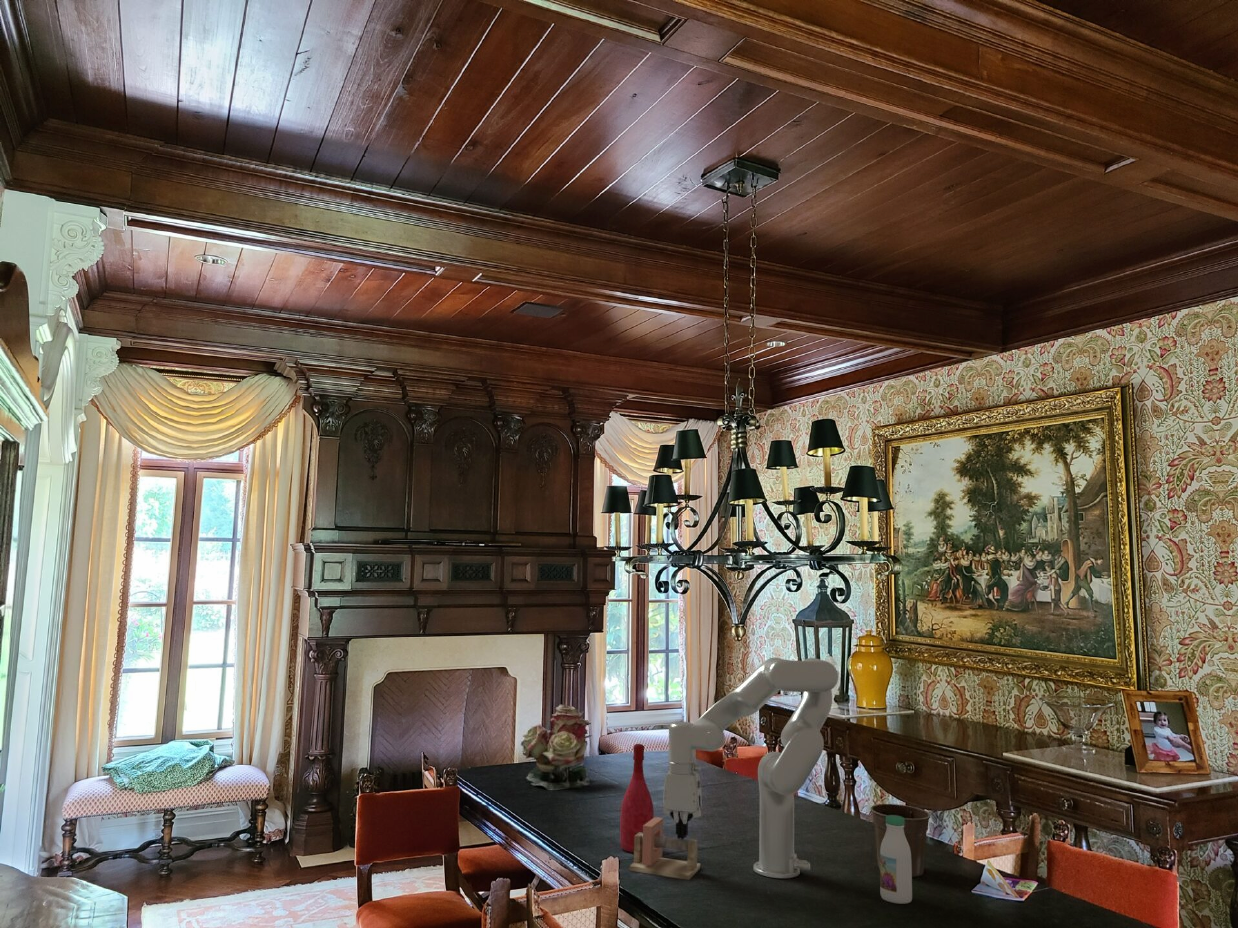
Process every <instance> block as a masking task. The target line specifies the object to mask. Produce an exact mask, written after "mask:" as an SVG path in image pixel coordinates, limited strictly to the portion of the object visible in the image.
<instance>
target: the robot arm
mask: <svg viewBox="0 0 1238 928" xmlns="http://www.w3.org/2000/svg"><path fill="white" fill-rule="evenodd" d="M838 682H839V673H838V670H837V668H836V667H835V665H833V664H832V663H830V662H829V661H827V660H824V659H820V658H815V657H807V658H806V659H804V660H790V659H783V658H781V657H770V658H767V659H766V660H765V661H764V662H762V663H761V664H760V665H759V666H758V667H757V668H756V669H755V670H754V671H753V672H752V673H751V674H750V675H749V676H748V677H747V678H745V679H744V680H743V681H742V682H741V683H740V684H739V685H738V686H737V687H736V688H734V690H732V691H730V692H729V693H728V694H726V695H725V696H723V697H722V698H721V699H719V700H717V702H716V703H714V704H713V705H711V707H709V709H707V711H705V712H704V713H703V714H702V715H701V716H700V717H699V718H698V719H697V720H696V721H695V722H694V723H692V722H690V721H673V722H671V723H670V724H669V727H668V771H667V772H666V774H665V779H664V785H663V795H662V805H663V809H662V812H663V814H665V815H667V816H670V817H671V818H672V820H673V821H674V823H675V834H676V835H677V837H676V838H677V839H684V840H685V839H686V837H687V836H688V835H689V822H690V821H691V820H692V819H694V818H700V817H701V816H702V811H701V809H702V805H703V804H702V803H703V802H702V801H703V800H702V799H703V798H702V786H701V780H700V779H701V778H700V774H699V773H698V771H699V772H700V771H701V767H702V766H701V765H699V764H697V759H696V758H697V753H696V752H697V751H696V750H698V751H704V752H706V751H707V752H716V751H718V750H720V749H721V748H722V747H723V746H724V744H725V740H726V736H725V735H726V734H725V732H724V731H725V730H727V728H728V727H730V726H731V725H732V724H733V723H735V722H736V721H738V720H740V719H743V718H746V717H749V716H752V715H754V714H756V713H757V712H758V711H759V710H760V709H762V707H764V706H765V704H766V703H768V702H769V701H770V700H771V699H772V698H773V697H774V696H775V695H776V694H777V693H779V692H780V691H782V692H793V693H794V692H795V693H802V695H801V699H800V701H799V703H798V705H797V707H796V708H795V710H794V711H793V713H792V715H791V717H789V719H788V721H787V723H786V724H785V726H784V727H783V729H782V730H781V733H780V742H781V745H782V746H783V747H784V748H783V749H782V750H781V752H779V751H771V752H768V753H766V754H764V755H763V756H762V758H760V761H759V763H758V765H757V766H758V767H757V780H758V789H759V790H758V791H759V825H758V826H759V829H758V830H759V834H758V835H759V839H758V840H759V844H758V845H759V849H758V852H759V853H758V855H759V856H758V857H759V858H758V859H759V860H757V861H756V862H754V864H753V871H754V872H755V873H757V874H758V875H761V876H764V877H768V878H772V879H792V878H795V877H798V876H799V875H800V873H801V871H800V870H805V871H810V870H811V863H810V862H808V860H804V859H799V858H797V855H798V854H797V853H795V797H794V795H795V794H796V793H798V792H799V791H800V789H802V788H803V786H804V784H805V783H806V781H807V779H808V778H809V776H811V773H812V772H813V770H814V768H815V766H817V763H818V762H819V759H820V758H821V756H822V753H823V751H824V744H825V743H824V742H825V741H824V737H823V735H822V733H821V730H822V728H823V725H825V722H826V720H827V719H828V716H829V715H830V712H831V709H832V705H833V690H832V689H834V688H835V687H836V686H837V685H838ZM682 813H683V815H682Z"/></svg>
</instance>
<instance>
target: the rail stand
mask: <svg viewBox="0 0 1238 928" xmlns="http://www.w3.org/2000/svg"><path fill="white" fill-rule="evenodd" d="M654 846H655V847H662V849H663V848H664V849H670V850H678V851H684V852H687V859H686V860H681V859H673V858H665V857H660V858H659V859H658V860H656V861H655V862H654V863H653V864H652V865H644V864H642V850H643V833H642V832H639V833H638V834H636V835H635V837H634V853H633V862H632V863H631V864H630V865H629V868H628V870H629V871H630V872H636V873H642V874H648V875H649V874H650V875H654V876H655V875H656V876H662V877H668V878H675V879H681V880H688V881H690V880H691V879H692V878H693V877H694V876H695V874H696V873H697V872H698V871H699V870H700V869H701V863H700V862H698V839H685V838H684V839H681V838H680V839H678V838H677V837H676V838H675V837H671V836H670V837H668V836H663V837H662V836H654Z"/></svg>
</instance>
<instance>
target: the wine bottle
mask: <svg viewBox="0 0 1238 928" xmlns="http://www.w3.org/2000/svg"><path fill="white" fill-rule="evenodd" d="M632 759H633V768H632V769H633V771H632V776H631V780H630V781H629V784H628V787H627V789H626V791H625V793H624V796H623V799H622V801H621V807H620V824H619V825H620V827H619V828H620V829H619V833H620V834H619V836H620V839H619V842H620V847H621V849H622V850H624V851H626V852H629V853H632V854H634V837H635V835H636V834H638V833H639V832H642V833H643V825H645V824H646V823H647V822H649V821H650V820H651V819H653V818H654V817H655V813H654V811H655V810H654V804H653V803H654V802H653V800H652V796H651V793H650V790H649V788H648V786H647V782H646V780H645V775H644V760H645V745H643V744H642V743H636V744H634V745H633V756H632Z"/></svg>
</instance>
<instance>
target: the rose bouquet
mask: <svg viewBox="0 0 1238 928" xmlns="http://www.w3.org/2000/svg"><path fill="white" fill-rule="evenodd" d="M555 710H556V712H555V713H553V714H551V718H550V724H551V725H552V729H551V730H549V729H546V728H545V727H544V726H542V725H541V723H538V724H536V725H533V726H531V728H529V729H528V731H527V733H525V734H523V735H522V737H524V740H523V741H521V742H520V746H521V747H522V750H521V752H522V755H523V756H525V759H529V760H528V762H530V761H535V762H536V766H534V767H532V768H531V769H530V770H529V772H528V774H527V776H526V777H525V778H526V780H527V781H530V782H531V783H530V785H532V786H542V787H544V788H545V789H546V790H547V791H557V790H564V789H569V788H570V789H571V788H580V787H581V786H589V785H591V783H590V779H589V777H588V776H589V774H587V769H588V767H585V766H583V762H584V761H585V757H584V756H585V753H586V750H587V747H588V740H587V739H589V738H591V737H592V736H593V735H588V734H589V732H588V729H587V728H586V727H587V726H589V725H591V724H592V723H591V722H590V721H589V720H587V719H584V718H583V717H582V716H583V714H584V712H585V710H582V711H581V712H579V709H577V708H575V707H574V706H572V705H566V704H561V703H560V704H559V705H558V706H557V707H555ZM530 758H531V759H530ZM580 763H581V764H580ZM577 764H579V765H577ZM574 766H575V767H574ZM571 767H572V768H571Z"/></svg>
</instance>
